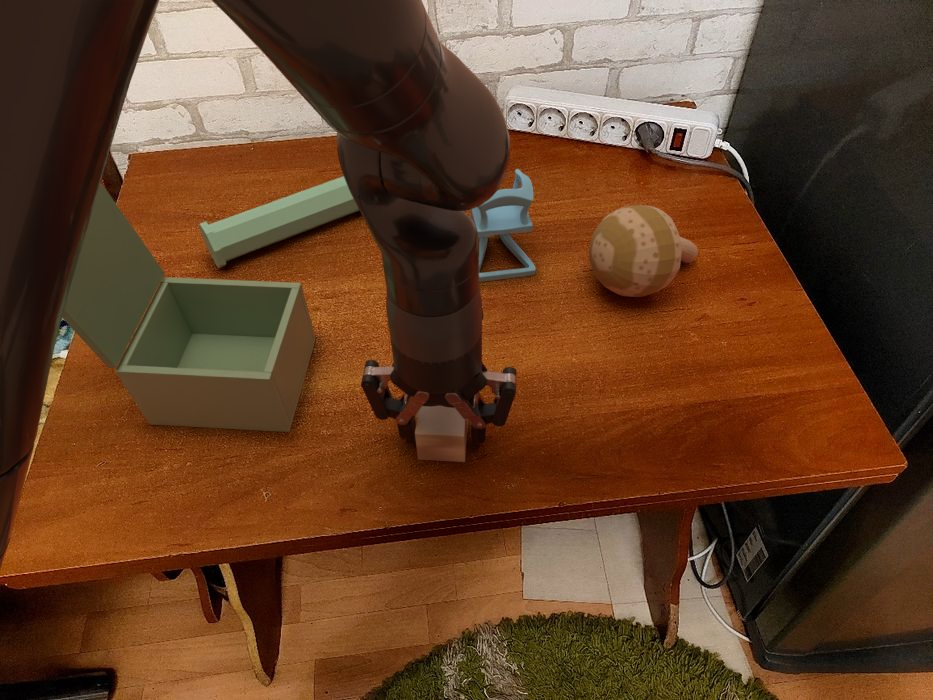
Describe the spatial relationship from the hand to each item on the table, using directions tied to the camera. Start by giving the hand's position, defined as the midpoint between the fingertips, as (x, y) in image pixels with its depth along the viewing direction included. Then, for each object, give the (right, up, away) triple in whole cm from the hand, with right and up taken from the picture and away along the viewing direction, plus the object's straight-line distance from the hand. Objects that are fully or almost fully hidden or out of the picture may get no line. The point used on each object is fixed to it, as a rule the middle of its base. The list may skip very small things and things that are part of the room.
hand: (443, 437), depth 68 cm
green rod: (-19, +25, +22) cm, 38 cm away
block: (0, 0, 0) cm, 1 cm away
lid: (-31, +17, -7) cm, 36 cm away
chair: (+6, +20, +18) cm, 28 cm away
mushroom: (+24, +17, +15) cm, 33 cm away
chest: (-22, +5, +6) cm, 24 cm away
